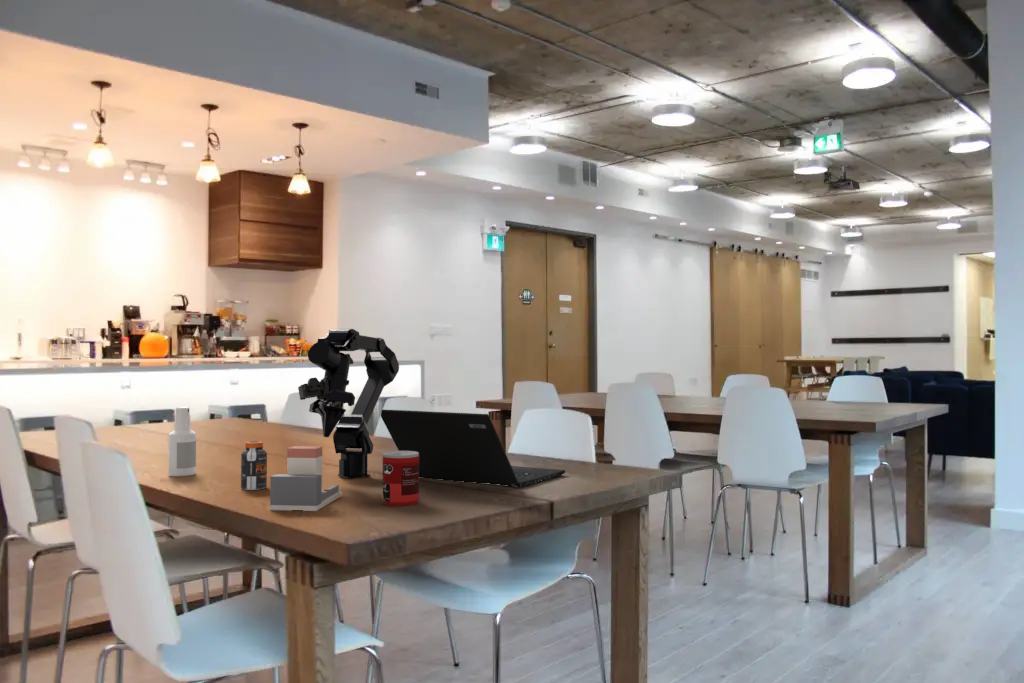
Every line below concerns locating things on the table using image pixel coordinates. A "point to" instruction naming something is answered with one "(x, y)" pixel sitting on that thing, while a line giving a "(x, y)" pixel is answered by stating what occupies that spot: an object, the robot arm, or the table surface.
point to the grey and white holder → (300, 492)
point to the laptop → (458, 448)
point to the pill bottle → (254, 466)
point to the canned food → (400, 478)
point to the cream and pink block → (305, 460)
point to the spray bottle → (182, 446)
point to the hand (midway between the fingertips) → (325, 437)
